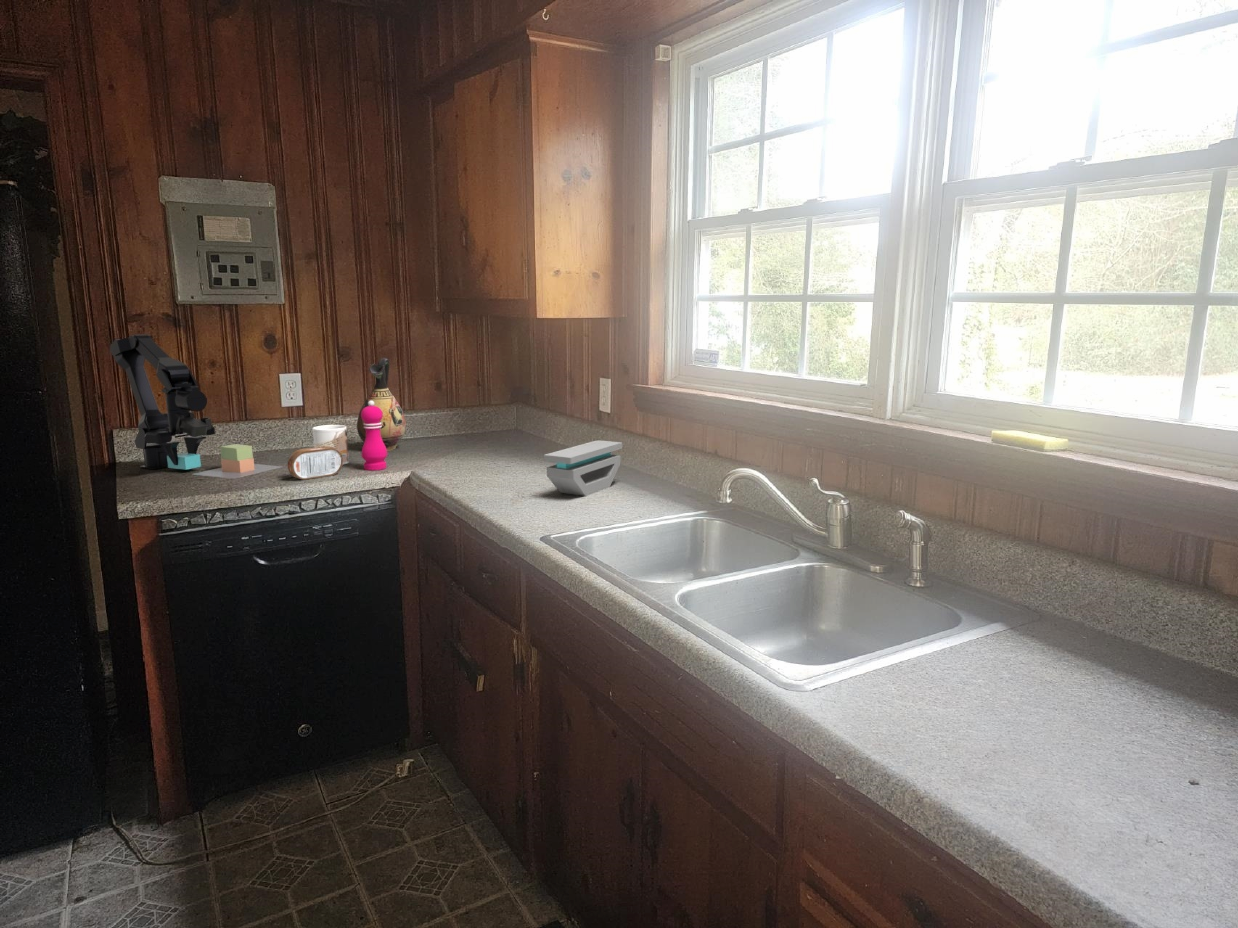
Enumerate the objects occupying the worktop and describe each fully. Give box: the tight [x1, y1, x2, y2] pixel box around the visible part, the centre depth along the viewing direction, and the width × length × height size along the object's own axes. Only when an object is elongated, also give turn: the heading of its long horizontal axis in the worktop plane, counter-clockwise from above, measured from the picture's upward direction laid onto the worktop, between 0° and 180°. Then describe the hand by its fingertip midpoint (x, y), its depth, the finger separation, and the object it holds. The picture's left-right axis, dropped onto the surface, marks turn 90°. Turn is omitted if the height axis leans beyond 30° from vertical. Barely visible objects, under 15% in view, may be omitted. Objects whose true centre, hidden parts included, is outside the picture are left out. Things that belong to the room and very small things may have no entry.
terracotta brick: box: [220, 457, 255, 473], centre depth 231 cm, size 7×5×4 cm
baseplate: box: [191, 463, 283, 480], centre depth 231 cm, size 16×18×1 cm
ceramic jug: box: [356, 357, 407, 452], centre depth 266 cm, size 17×15×30 cm
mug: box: [311, 424, 350, 465], centre depth 245 cm, size 10×12×11 cm
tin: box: [287, 446, 344, 481], centre depth 224 cm, size 15×3×8 cm, turn 134°
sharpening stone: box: [543, 439, 623, 497], centre depth 207 cm, size 25×8×11 cm, turn 150°
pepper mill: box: [361, 401, 388, 471], centre depth 234 cm, size 7×7×20 cm
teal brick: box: [167, 452, 202, 470], centre depth 230 cm, size 7×5×4 cm
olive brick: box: [219, 443, 254, 461], centre depth 230 cm, size 7×5×4 cm
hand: (184, 463), depth 231 cm, fingers closed on teal brick, 5 cm apart
